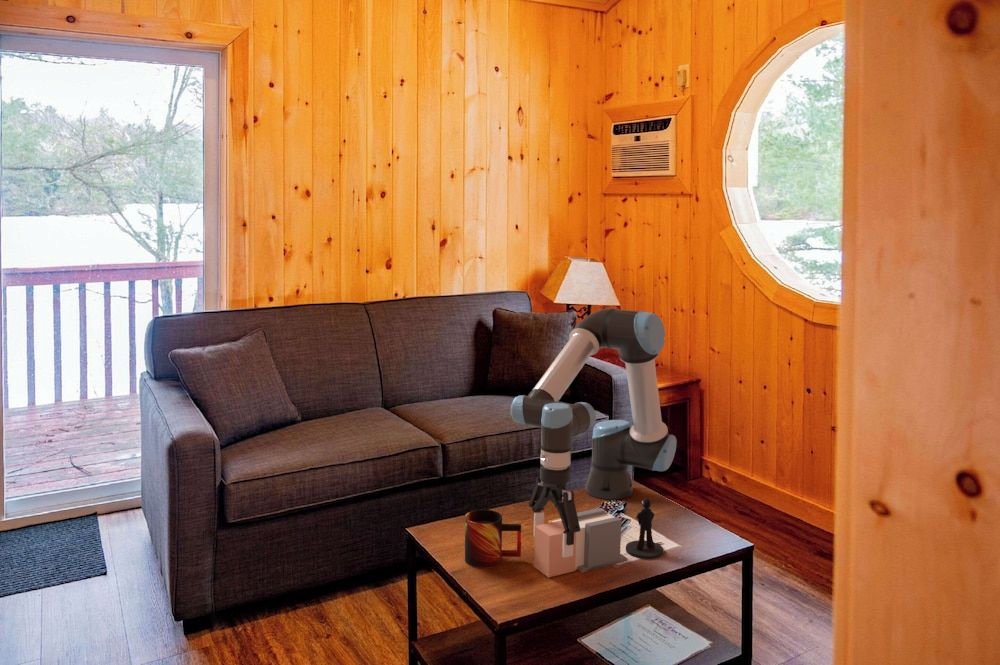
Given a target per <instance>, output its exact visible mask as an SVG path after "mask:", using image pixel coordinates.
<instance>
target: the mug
mask: <svg viewBox="0 0 1000 665" xmlns="http://www.w3.org/2000/svg"><path fill="white" fill-rule="evenodd" d="M464 520H465V522H464V562H465V564H467V565H468V566H470V567H473V568H478V569H490V568H494V567H497V566H499V565H500V564H501V563H502V558H522V524H521V523H503V515H502V514H501V513H500V512H499V511H496V510H492V509H476V510H471V511H470V512H467V513H465V517H464ZM503 532H516V534H517V535H516V536H517V537H516V538H517V539H516V549H503V546H502V545H503V544H502V543H503Z"/></svg>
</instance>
